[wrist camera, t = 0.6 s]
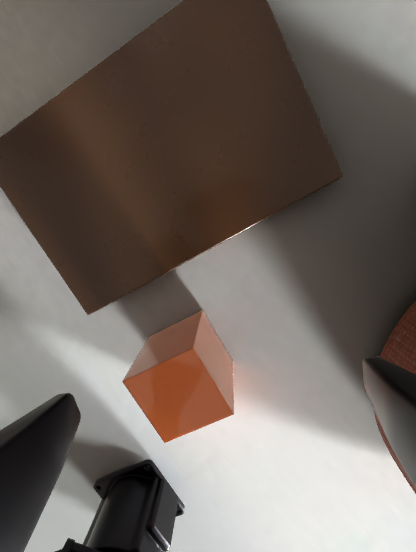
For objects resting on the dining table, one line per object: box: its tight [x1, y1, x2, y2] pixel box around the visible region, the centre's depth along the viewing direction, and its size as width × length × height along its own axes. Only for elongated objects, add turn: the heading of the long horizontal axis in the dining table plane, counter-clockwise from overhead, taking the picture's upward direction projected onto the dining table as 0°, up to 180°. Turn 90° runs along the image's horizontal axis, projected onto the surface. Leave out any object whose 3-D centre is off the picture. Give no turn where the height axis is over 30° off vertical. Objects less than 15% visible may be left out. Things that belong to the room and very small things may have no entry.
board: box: [0, 0, 343, 315], centre depth 19 cm, size 20×13×2 cm, turn 119°
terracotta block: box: [123, 310, 234, 443], centre depth 20 cm, size 5×5×6 cm
